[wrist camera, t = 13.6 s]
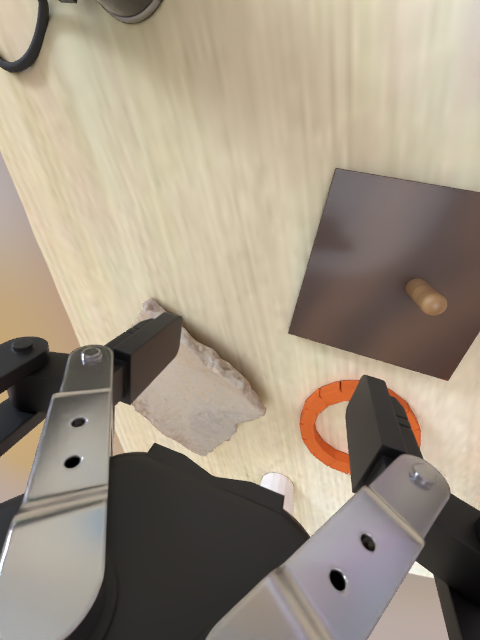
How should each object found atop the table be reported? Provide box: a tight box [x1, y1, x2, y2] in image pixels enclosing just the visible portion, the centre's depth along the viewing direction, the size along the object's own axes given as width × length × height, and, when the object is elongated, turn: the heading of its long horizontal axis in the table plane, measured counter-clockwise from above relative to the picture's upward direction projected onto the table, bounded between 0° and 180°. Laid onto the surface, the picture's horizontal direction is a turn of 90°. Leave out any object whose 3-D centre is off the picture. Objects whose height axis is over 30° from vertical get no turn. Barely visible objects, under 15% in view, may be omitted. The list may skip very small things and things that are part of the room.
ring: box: [300, 380, 421, 475], centre depth 38 cm, size 15×15×2 cm
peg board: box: [288, 168, 480, 381], centre depth 27 cm, size 19×19×8 cm
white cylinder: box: [260, 473, 294, 516], centre depth 45 cm, size 7×7×7 cm
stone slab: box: [131, 299, 266, 456], centre depth 41 cm, size 24×8×20 cm
